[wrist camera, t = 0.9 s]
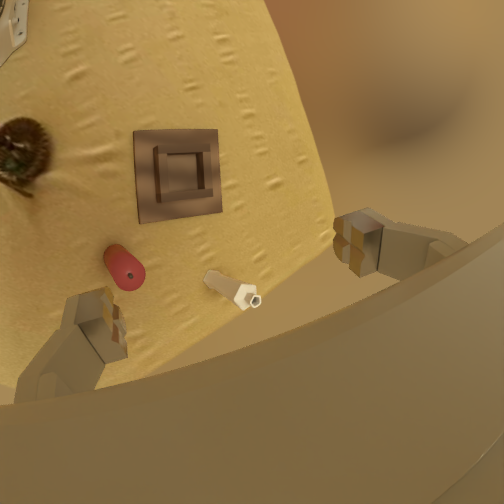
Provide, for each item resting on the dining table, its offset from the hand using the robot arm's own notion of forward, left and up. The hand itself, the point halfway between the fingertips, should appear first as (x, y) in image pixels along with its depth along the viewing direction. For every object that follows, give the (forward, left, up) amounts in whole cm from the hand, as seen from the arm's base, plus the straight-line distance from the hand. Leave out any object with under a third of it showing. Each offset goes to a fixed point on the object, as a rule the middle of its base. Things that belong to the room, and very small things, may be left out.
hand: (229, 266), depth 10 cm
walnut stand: (-5, +14, -42) cm, 45 cm away
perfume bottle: (+16, +19, -43) cm, 49 cm away
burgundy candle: (+8, +1, -42) cm, 43 cm away
